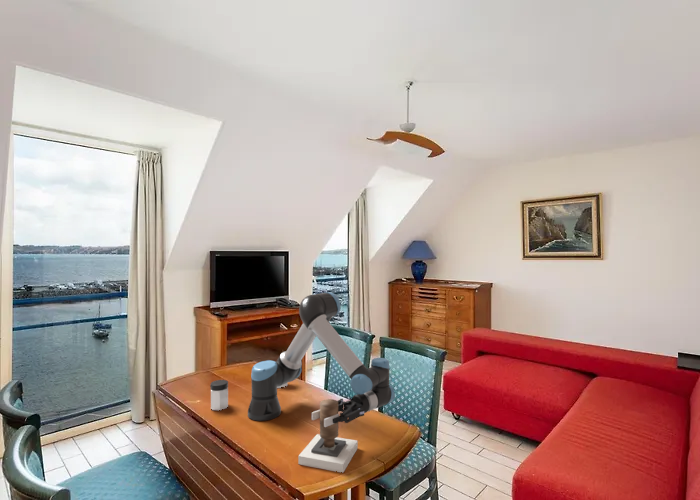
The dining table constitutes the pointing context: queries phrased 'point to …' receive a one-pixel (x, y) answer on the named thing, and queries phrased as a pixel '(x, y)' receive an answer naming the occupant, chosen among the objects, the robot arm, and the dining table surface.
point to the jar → (219, 394)
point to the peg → (330, 432)
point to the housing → (328, 454)
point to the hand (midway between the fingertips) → (318, 419)
